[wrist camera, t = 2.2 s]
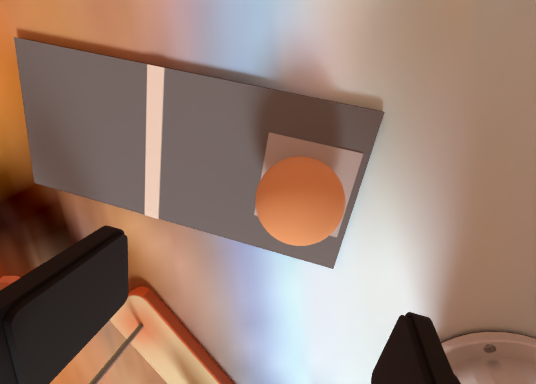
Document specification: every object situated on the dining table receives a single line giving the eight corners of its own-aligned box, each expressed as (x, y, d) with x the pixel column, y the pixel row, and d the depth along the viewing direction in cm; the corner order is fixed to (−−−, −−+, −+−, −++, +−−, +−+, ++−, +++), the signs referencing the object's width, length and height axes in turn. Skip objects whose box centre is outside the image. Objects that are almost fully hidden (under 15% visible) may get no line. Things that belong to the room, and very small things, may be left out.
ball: (354, 158, 20) (360, 184, 15) (332, 230, 23) (330, 275, 17) (274, 140, 21) (252, 158, 16) (260, 211, 23) (237, 248, 18)
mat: (382, 111, 20) (384, 112, 19) (333, 264, 24) (333, 269, 24) (21, 38, 24) (12, 36, 23) (40, 180, 29) (33, 183, 28)
